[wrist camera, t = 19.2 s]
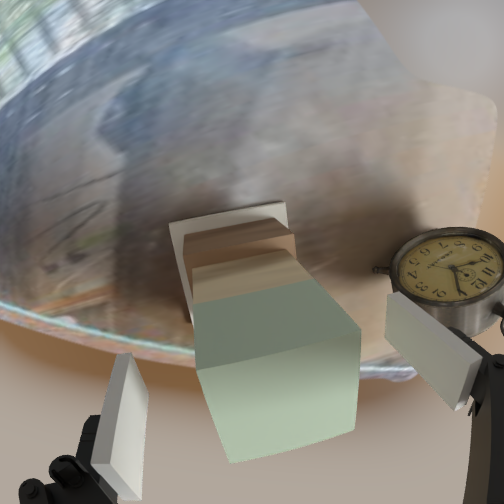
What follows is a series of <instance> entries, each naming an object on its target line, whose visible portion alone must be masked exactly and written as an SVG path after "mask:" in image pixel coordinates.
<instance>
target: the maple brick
mask: <svg viewBox="0 0 504 504" xmlns="http://www.w3.org/2000/svg"><path fill="white" fill-rule="evenodd" d="M192 278H193V304H198V303H203V302H208V301H213V300H218V299H223V298H228V297H232V296H237V295H242V294H247V293H251V292H256V291H261V290H265V289H270V288H274V287H279V286H283V285H288V284H292V283H297V282H301V281H305V280H310V279H314V278H313V277H312V276H311V275H310V274H309V273H308V272H307V271H306V270H305V269H304V268H303V266H302V265H301V264H300V263H299V262H298V261H297V260H296V259H295V258H294V257H293V256H292V255H291V254H290V253H289V251H288V250H282V251H277V252H272V253H267V254H262V255H257V256H252V257H247V258H242V259H237V260H232V261H227V262H222V263H217V264H212V265H207V266H202V267H197V268H192Z"/></svg>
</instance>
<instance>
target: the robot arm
mask: <svg viewBox="0 0 504 504" xmlns="http://www.w3.org/2000/svg"><path fill="white" fill-rule="evenodd" d="M385 339H386V340H387V341H388V342H389V343H390V344H391V345H392V346H393V347H394V348H395V349H396V350H397V351H398V352H399V353H400V354H401V355H402V356H403V357H404V358H405V360H406V361H407V362H408V363H409V364H410V365H411V366H412V367H413V368H414V369H415V370H416V371H417V372H418V373H419V374H420V375H421V376H422V378H423V379H424V380H425V381H426V382H427V383H428V384H429V385H430V386H431V387H432V388H433V389H434V390H435V391H436V392H437V394H438V395H439V396H440V397H441V398H442V399H443V400H444V401H445V402H446V403H447V404H448V406H449V407H450V408H451V409H452V410H453V411H456V410H458V409H459V408H461V407H462V406H464V405H466V404H467V401H468V399H469V396H470V395H471V396H472V397H473V398H474V401H473V403H472V406H471V408H470V410H469V413H468V416H470V414H471V412H472V429H471V444H470V456H469V466H468V473H467V481H466V488H465V494H464V499H463V504H504V355H502V354H495V355H491V354H490V353H488V352H487V351H486V350H485V349H483V348H482V347H481V346H480V345H478V344H477V343H476V342H475V341H472V339H470V338H469V337H467V335H466V334H464V333H463V332H462V331H460V330H459V329H456V328H453V327H451V326H450V327H448V328H446V327H445V326H443V325H442V324H441V323H440V322H438V321H437V320H436V319H434V318H433V317H432V316H431V315H429V314H428V313H427V312H425V311H424V310H423V309H422V308H420V307H419V306H418V305H416V304H415V303H414V302H412V301H411V300H410V299H408V298H407V297H406V296H404V295H403V294H402V293H400V292H395V293H392V294H389V295H387V311H386V326H385ZM148 399H149V393H148V390H147V388H146V386H145V384H144V381H143V379H142V377H141V375H140V372H139V370H138V368H137V365H136V363H135V361H134V358H133V356H132V353H125V354H118V355H117V357H116V360H115V363H114V367H113V370H112V374H111V377H110V381H109V385H108V389H107V393H106V396H105V400H104V404H103V408H102V412H101V415H90V417H89V418H88V419H87V421H86V422H85V423H84V426H83V430H82V435H81V437H80V442H79V445H78V449H77V453H76V457H74V456H71V455H62V456H59V457H57V458H56V459H55V460H53V461H52V463H51V464H50V466H49V475H50V477H51V478H52V479H53V480H54V481H55V483H51V484H46V485H44V484H43V483H42V482H41V481H40V480H38V479H35V478H32V479H28V480H26V481H24V482H23V483H22V484H21V486H20V488H19V500H20V504H118V503H117V496H118V495H119V496H120V498H121V499H123V501H142V478H143V477H142V476H143V459H144V444H145V431H146V419H147V408H148Z"/></svg>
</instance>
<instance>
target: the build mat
mask: <svg viewBox="0 0 504 504" xmlns="http://www.w3.org/2000/svg"><path fill="white" fill-rule="evenodd" d="M269 218H276V219H277V220H278V221H279V222H280V223H282V224H283V225H284V226H285V227H286V228H288V221H287V213H286V205H285V202H277V203H271V204H266V205H260V206H254V207H249V208H243V209H238V210H232V211H227V212H221V213H216V214H211V215H206V216H201V217H196V218H190V219H185V220H181V221H176V222H171V223H169V229H170V234H171V238H172V243H173V247H174V252H175V256H176V260H177V265H178V269H179V273H180V277H181V281H182V285H183V289H184V293H185V297H186V301H187V305H188V309H189V312H190V316H191V320H192V324H193V327H194V321H193V298H192V294H191V290H190V286H189V281H188V277H187V273H186V269H185V264H184V260H183V243H184V235H185V234H190V233H195V232H200V231H205V230H210V229H216V228H221V227H226V226H231V225H237V224H242V223H247V222H253V221H258V220H264V219H269Z"/></svg>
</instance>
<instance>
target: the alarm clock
mask: <svg viewBox="0 0 504 504" xmlns="http://www.w3.org/2000/svg"><path fill="white" fill-rule="evenodd" d="M372 270H373V272H374V273H383V274H387V275H389V276H390V279H391V283H392V289H393V293H395V292H400V293H402V294H403V295H404V296H406V297H407V298H408V299H410V300H411V301H412V302H414V303H415V304H416V305H418V306H419V307H420V308H422V309H423V310H424V311H425V312H427V313H428V314H429V315H431V316H432V317H433V318H434V319H436V320H437V321H438V322H440V323H441V324H442V325H443V326H445V327H446V328H448V327H450V326H451V327H453V328H456V329H459V330H460V331H462V332H463V333H464V334H466V335H467V337H469V338H471V337H474V336H476V335H478V334H480V333H482V332H484V331H486V330H487V329H489V328H490V327H491V326H493V325H494V324H495V323H496V322H497V321H498V320H499V318H500V317H502V318H503V319H502V321H501V324H500V328H501V332H502V334H503V336H504V243H503V242H502V241H501V240H499V239H498V238H497V237H495V236H494V235H492V234H490V233H488V232H486V231H483V230H479V229H475V228H468V227H447V228H440V229H436V230H432V231H428V232H425V233H423V234H420V235H418V236H416V237H415V238H413V239H411V240H410V241H408V242H407V243H405V244H404V245H403V246H402V247H401V248H400V249H399V250H398V251H397V252H396V253H395V255H394V257H393V258H392V260H391V263H390V267H384V268H378V267H373V269H372Z"/></svg>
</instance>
